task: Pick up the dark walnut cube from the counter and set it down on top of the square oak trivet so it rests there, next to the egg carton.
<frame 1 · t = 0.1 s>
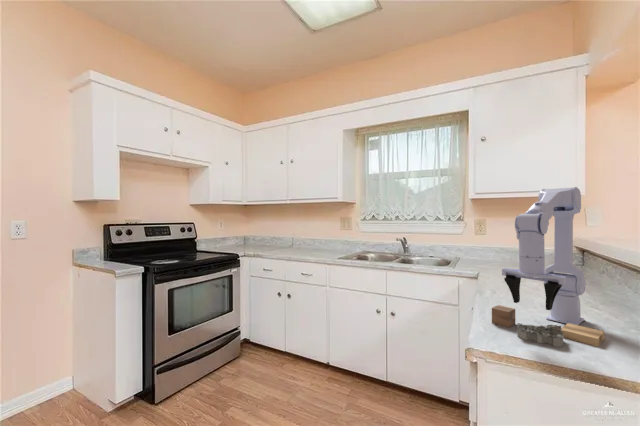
hand: (532, 305, 80), 10 cm above the worktop, tool pointing down, fingers open, 7 cm apart
egg carton: (539, 340, 81), on the worktop
oak trivet: (582, 339, 82), on the worktop
walnut cube: (503, 323, 93), on the worktop
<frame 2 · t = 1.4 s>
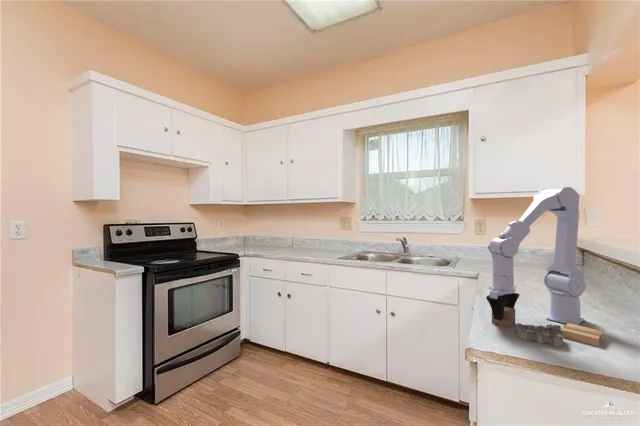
hand: (503, 317, 93), 2 cm above the worktop, tool pointing down, fingers open, 7 cm apart
nothing on the worktop moved.
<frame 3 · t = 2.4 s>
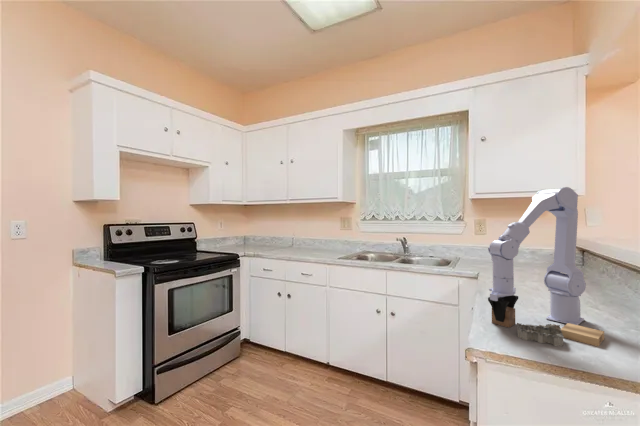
hand: (503, 319, 93), 1 cm above the worktop, tool pointing down, fingers closed on walnut cube, 5 cm apart
walnut cube: (503, 323, 93), on the worktop, touching gripper
everything else where it was.
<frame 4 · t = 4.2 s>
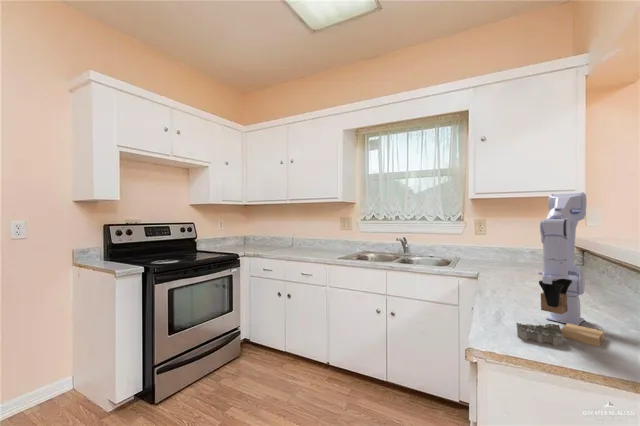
hand: (555, 304, 86), 8 cm above the worktop, tool pointing down, fingers closed on walnut cube, 5 cm apart
walnut cube: (554, 310, 86), point 7 cm above the worktop, touching gripper
everything else where it was.
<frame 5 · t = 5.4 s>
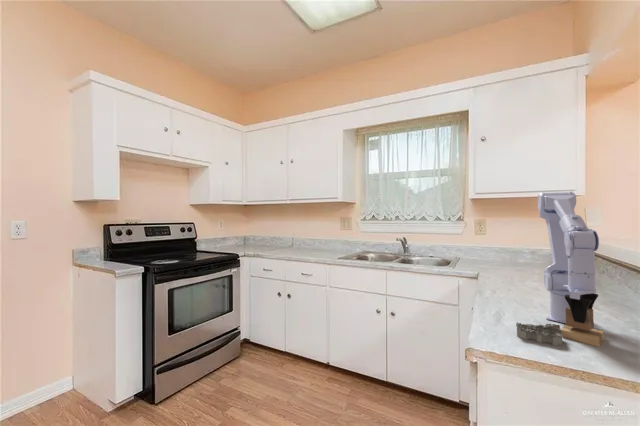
hand: (581, 319, 82), 5 cm above the worktop, tool pointing down, fingers closed on walnut cube, 5 cm apart
walnut cube: (579, 326, 83), point 3 cm above the worktop, touching gripper
everything else where it was.
when the fingers open (5 cm above the worktop, at t = 6.2 s): walnut cube drops 1 cm, resting on oak trivet.
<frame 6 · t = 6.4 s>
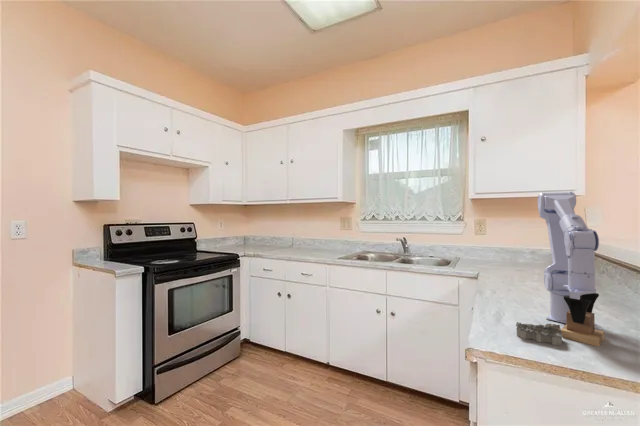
hand: (581, 319, 82), 5 cm above the worktop, tool pointing down, fingers open, 7 cm apart
oak trivet: (582, 339, 82), on the worktop, touching walnut cube
walnut cube: (580, 330, 82), point 2 cm above the worktop, touching oak trivet
everything else where it was.
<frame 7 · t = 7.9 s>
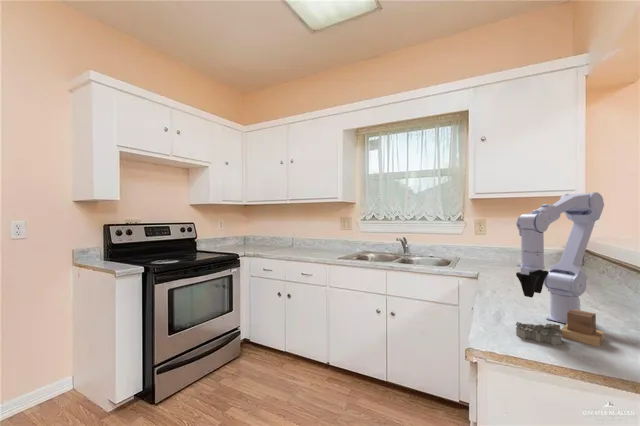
hand: (532, 294, 91), 10 cm above the worktop, tool pointing down, fingers open, 7 cm apart
oak trivet: (582, 339, 82), on the worktop
walnut cube: (581, 330, 82), point 2 cm above the worktop
everything else where it was.
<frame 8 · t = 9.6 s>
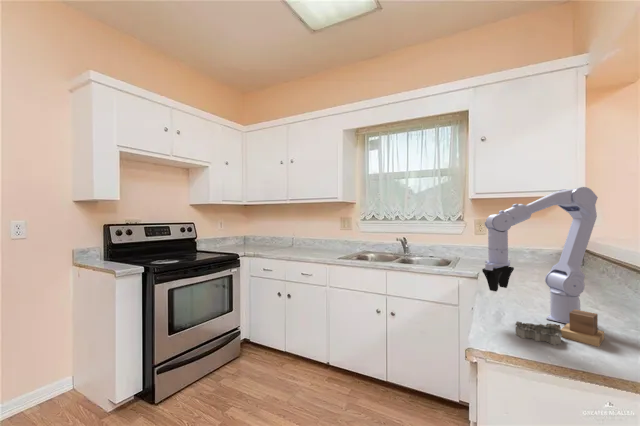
hand: (498, 289, 98), 10 cm above the worktop, tool pointing down, fingers open, 7 cm apart
at the end: walnut cube 0.3 cm off-centre on the oak trivet, point 2.5 cm above the oak trivet's base; walnut cube tilted 1°; walnut cube touching oak trivet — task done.
